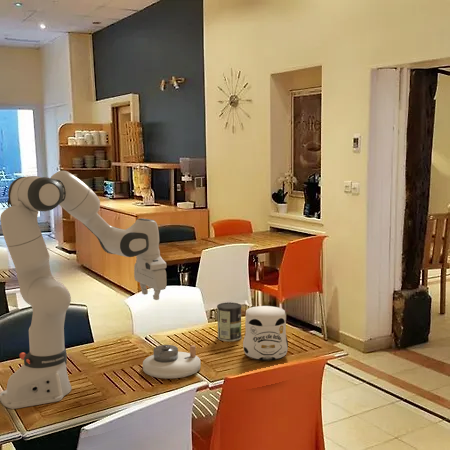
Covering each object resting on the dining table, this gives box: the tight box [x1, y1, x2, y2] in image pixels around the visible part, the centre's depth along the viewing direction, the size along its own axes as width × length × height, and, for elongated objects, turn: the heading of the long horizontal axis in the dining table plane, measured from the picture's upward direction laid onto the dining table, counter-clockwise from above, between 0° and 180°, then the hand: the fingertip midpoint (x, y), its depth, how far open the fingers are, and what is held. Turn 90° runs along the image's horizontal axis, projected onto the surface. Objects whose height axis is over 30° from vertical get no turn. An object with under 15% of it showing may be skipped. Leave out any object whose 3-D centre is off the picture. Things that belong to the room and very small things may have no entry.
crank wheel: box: [142, 344, 202, 379], centre depth 210 cm, size 21×21×6 cm
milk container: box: [242, 305, 289, 362], centre depth 222 cm, size 17×17×18 cm
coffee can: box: [216, 301, 242, 342], centre depth 244 cm, size 10×10×14 cm
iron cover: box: [153, 344, 179, 363], centre depth 214 cm, size 9×9×5 cm
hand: (150, 296), depth 218 cm, fingers open, 8 cm apart
